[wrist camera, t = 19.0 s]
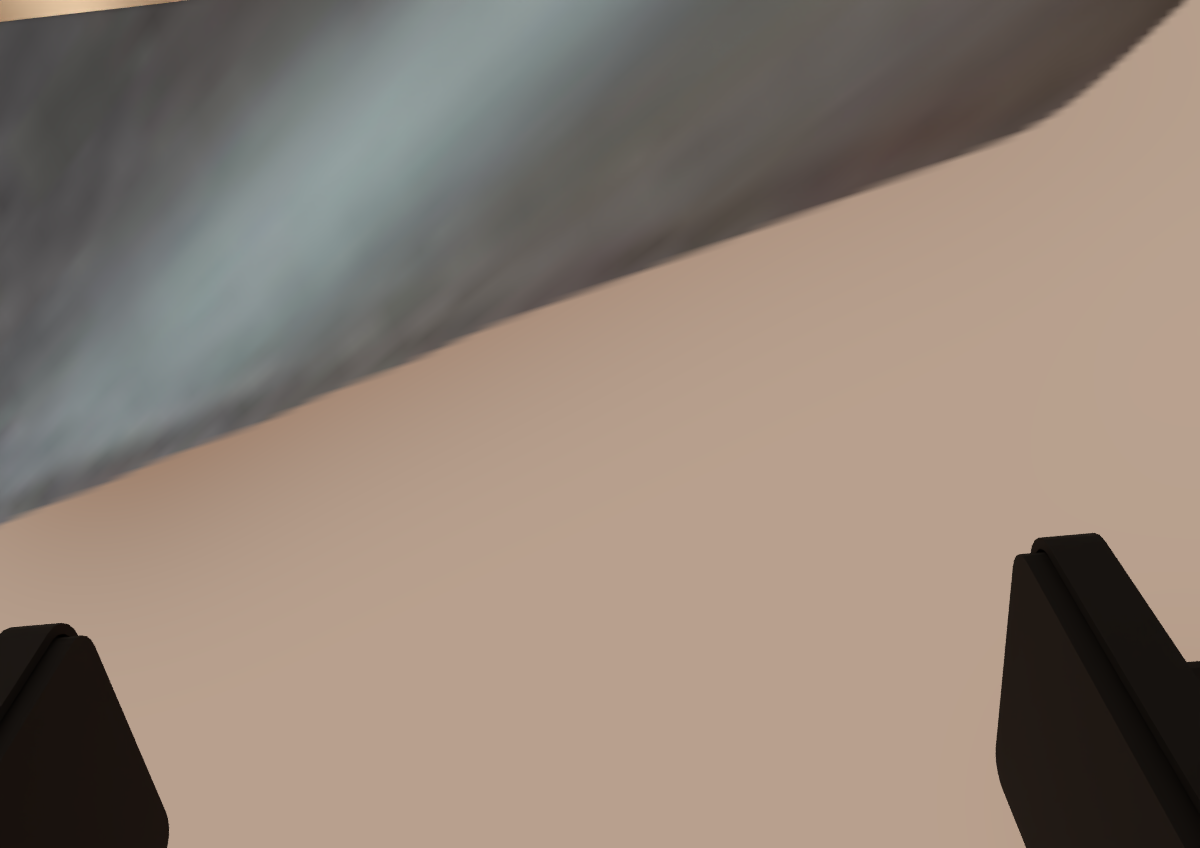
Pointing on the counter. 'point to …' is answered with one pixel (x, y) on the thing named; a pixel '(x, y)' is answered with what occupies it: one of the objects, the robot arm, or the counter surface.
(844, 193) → the counter surface
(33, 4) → the rail mount
